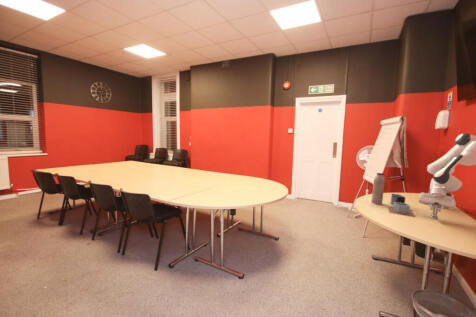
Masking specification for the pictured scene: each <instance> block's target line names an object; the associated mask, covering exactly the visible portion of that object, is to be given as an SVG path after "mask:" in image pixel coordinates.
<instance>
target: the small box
mask: <svg viewBox="0 0 476 317" xmlns="http://www.w3.org/2000/svg"><path fill="white" fill-rule="evenodd" d="M390 198H391V199H390V205H392V207H394V202H401V203H405V202H406V196H403V195H401V194H398V193H397V194H396V193H391V197H390Z"/></svg>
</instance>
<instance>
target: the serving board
mask: <svg viewBox="0 0 476 317" xmlns="http://www.w3.org/2000/svg"><path fill="white" fill-rule="evenodd" d="M393 207H394V206H389V205H387V209H388V212H389V214H395V215H398V216H399V215H400V216H404V217H410V218H416V216H415V214H414V212H413V210H412V209H409V213H407V214H404V213H398V212H396V211H394V210H393Z"/></svg>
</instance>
